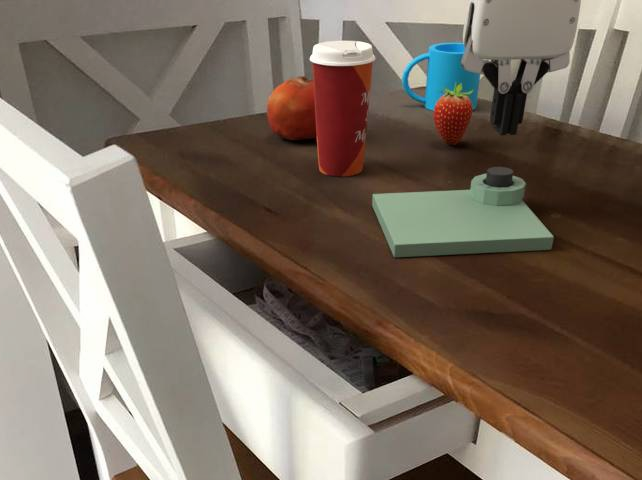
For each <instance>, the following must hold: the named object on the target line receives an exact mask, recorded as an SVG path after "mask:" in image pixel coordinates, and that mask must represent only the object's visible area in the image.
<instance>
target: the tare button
mask: <svg viewBox="0 0 642 480" xmlns="http://www.w3.org/2000/svg"><path fill="white" fill-rule="evenodd" d="M486 174H487V175H486V182H485V184H486V185H489V186H491V187H499V188H500V187H509V186H511V184H512V178H513V176H514V170H513V169H512V168H509V167H505V166H492V167H489V168H488V169H487V170H486Z"/></svg>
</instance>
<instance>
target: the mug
mask: <svg viewBox="0 0 642 480" xmlns="http://www.w3.org/2000/svg"><path fill="white" fill-rule="evenodd" d="M464 51H465V47H464V45H463V42H443V43H435V44H432V45H430V46H429V47H428V52H426V53H423V54H420V55H418V56H416V57H414V58H413V59H412V60H411V61H410V62H408V64H407V65H406V67H405V68H404V70H403V72H402V77H401V83H402V88H403V90H404V91H405V93H406V95H408V96H409V98H411V99H412V100H414V101H416V102H418V103H421V104H423V106H424V107H425V109H427V110H430V111H433V112H434V108H435V105H436V103H437V101H438V100H439V99H440V98H441V97H442V96H443V95H445V94H444V93H448V92H446V91H444V90H443V86H444V87H445V88H446V89H448V90H450V91H454V88H455V83H456V87H457V86H458V85H459V84H460V83H461V82H462V90H461V91H459V92H460V93H467V92H470V91H472V90H473V89H474V90H473V92H472V93H471V94H468V95H466V96H468V97H469V98H470V100H471V102H472V106H473V111H474V110H475V109H477V104H478V97H479V89H480V79H481V74H478V73H474V72H470V71H467V70H465V69H464V68H463V67H462V66H461V60H462V57H463V54H464ZM425 60H427V68H426V69H427V71H426V82H425V95H424V96H425V97H423V96H421V95H418V94H417V93H415V92H414V91H413V90H412V88H411V87H410V84H409V76H410V73H411V71H412V70H413V68H414V67H415V66H417V64H419V63H420V62H423V61H425ZM438 91H440V92H438ZM441 92H443V93H441ZM464 95H465V94H464Z"/></svg>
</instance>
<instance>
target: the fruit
mask: <svg viewBox="0 0 642 480" xmlns="http://www.w3.org/2000/svg"><path fill="white" fill-rule="evenodd" d="M443 90H444V91H446V92H448V93H444V94H445V95H443V96H442V97H441V98H440V99H439V100H438V101H437V103H436V105H435V108H434V111H433V115H432V116H433V123H434V126H435V128H436V130H437V132H438V135H439V136H440V138H441V140H442V141H443V142H444V143H445V144H447V145H449V146H456V145H457V144H459V142H460V141H462V139H463V138H464V135H465V134H466V131H467V128H468V127H469V125H470V122H471V120H472V117H473V111H474V110H473V106H472V102H471V100H470V98H469V97H468V96H466V95H468V94H471V93H472V92H473V90H474V89H473V90H472V91H470V92H467V93H460V92H459V91H461V90H462V82H461V83H460V84H459V85H458V86H457V87H456V83H455V88H454V91H450V90H448V89H446V88H445V87H444V86H443ZM438 92H440V91H438ZM441 93H443V92H441ZM464 94H465V95H464Z"/></svg>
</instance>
